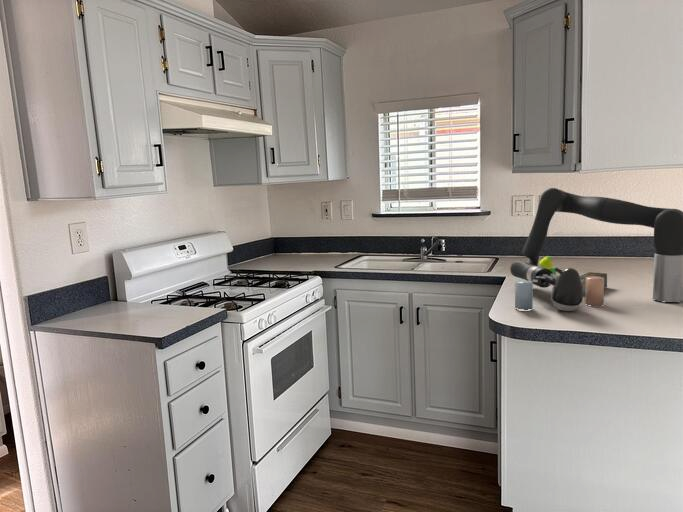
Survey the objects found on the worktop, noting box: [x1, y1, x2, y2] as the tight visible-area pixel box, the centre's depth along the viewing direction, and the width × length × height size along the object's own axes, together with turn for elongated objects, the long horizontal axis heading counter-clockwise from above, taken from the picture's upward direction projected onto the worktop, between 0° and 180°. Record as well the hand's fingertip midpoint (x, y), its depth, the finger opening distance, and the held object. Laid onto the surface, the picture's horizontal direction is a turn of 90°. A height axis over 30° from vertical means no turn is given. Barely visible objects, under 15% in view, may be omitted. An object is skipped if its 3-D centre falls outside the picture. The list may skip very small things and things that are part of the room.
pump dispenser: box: [550, 267, 584, 312], centre depth 181 cm, size 10×10×15 cm
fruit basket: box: [538, 255, 558, 276], centre depth 234 cm, size 11×9×11 cm
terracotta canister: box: [584, 276, 605, 307], centre depth 188 cm, size 6×6×10 cm
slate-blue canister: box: [514, 279, 534, 310], centre depth 187 cm, size 6×6×10 cm
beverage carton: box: [580, 271, 608, 295], centre depth 210 cm, size 8×19×7 cm, turn 132°
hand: (560, 283), depth 186 cm, fingers closed
